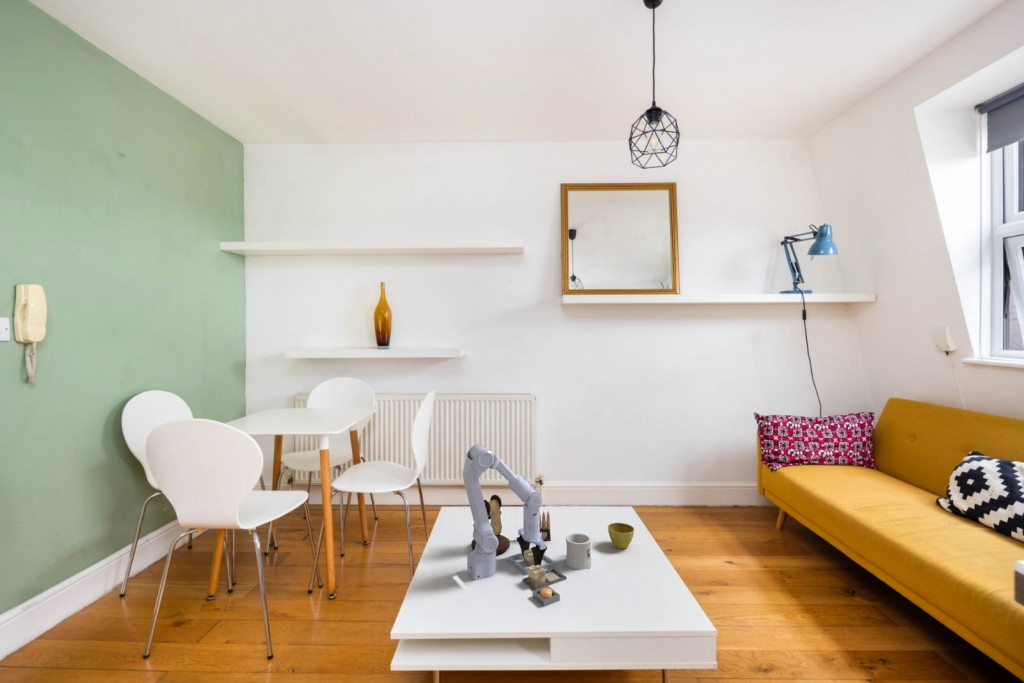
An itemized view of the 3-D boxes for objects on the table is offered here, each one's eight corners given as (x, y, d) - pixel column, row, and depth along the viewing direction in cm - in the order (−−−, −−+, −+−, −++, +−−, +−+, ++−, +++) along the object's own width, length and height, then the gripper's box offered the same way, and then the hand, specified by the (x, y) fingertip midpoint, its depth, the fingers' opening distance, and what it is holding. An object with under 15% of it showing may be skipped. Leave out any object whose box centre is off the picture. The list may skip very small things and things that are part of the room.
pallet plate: (535, 596, 145) (535, 590, 145) (519, 583, 153) (519, 577, 153) (569, 583, 153) (569, 578, 153) (553, 571, 160) (553, 566, 160)
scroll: (493, 562, 167) (493, 507, 167) (463, 550, 176) (463, 498, 176) (517, 547, 179) (517, 495, 179) (488, 537, 188) (488, 488, 187)
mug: (591, 573, 159) (591, 545, 159) (564, 571, 161) (564, 542, 160) (592, 557, 171) (592, 530, 171) (567, 554, 173) (567, 528, 173)
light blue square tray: (526, 578, 156) (526, 571, 156) (508, 562, 166) (508, 556, 166) (555, 568, 163) (555, 562, 163) (535, 554, 173) (535, 548, 173)
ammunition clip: (523, 542, 183) (523, 512, 183) (523, 540, 185) (523, 510, 185) (550, 542, 183) (550, 512, 183) (550, 540, 185) (550, 510, 185)
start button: (544, 604, 139) (544, 595, 139) (537, 598, 142) (537, 589, 142) (554, 600, 141) (554, 592, 141) (547, 594, 144) (547, 586, 144)
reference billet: (535, 587, 148) (535, 573, 148) (528, 581, 152) (528, 567, 152) (545, 583, 150) (545, 569, 150) (538, 578, 154) (538, 564, 154)
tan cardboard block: (530, 568, 162) (530, 555, 162) (523, 563, 165) (523, 550, 165) (539, 565, 164) (539, 552, 164) (533, 560, 167) (532, 548, 167)
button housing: (543, 610, 138) (543, 601, 138) (532, 600, 143) (532, 591, 143) (559, 604, 141) (559, 594, 141) (548, 594, 146) (548, 585, 146)
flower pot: (632, 540, 184) (632, 522, 184) (636, 552, 174) (636, 533, 174) (606, 539, 185) (606, 522, 185) (609, 551, 175) (609, 532, 175)
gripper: (552, 528, 160) (552, 567, 160) (529, 514, 173) (529, 550, 173) (536, 532, 157) (536, 572, 157) (513, 518, 169) (513, 555, 169)
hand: (531, 561), depth 165 cm, fingers open, 7 cm apart
